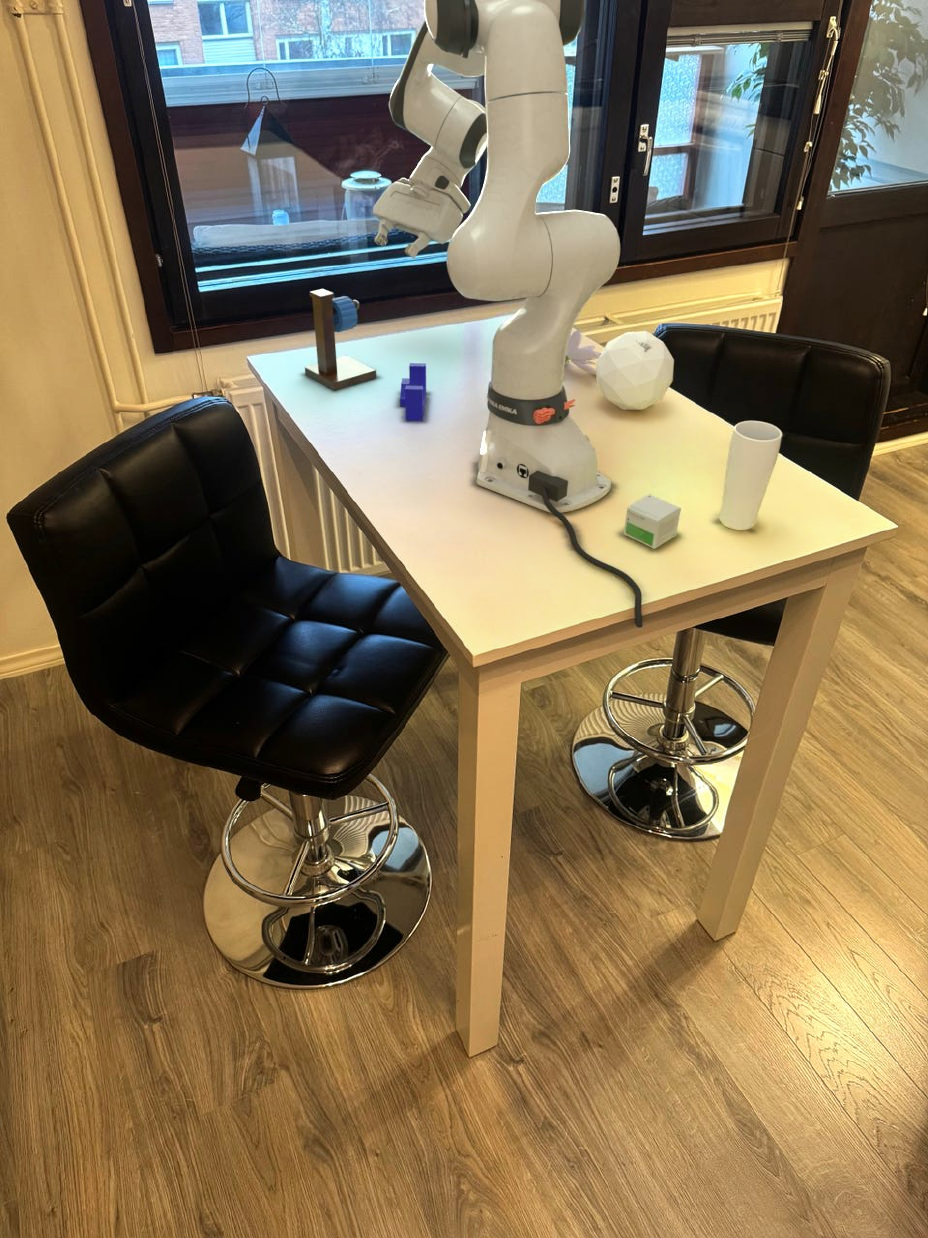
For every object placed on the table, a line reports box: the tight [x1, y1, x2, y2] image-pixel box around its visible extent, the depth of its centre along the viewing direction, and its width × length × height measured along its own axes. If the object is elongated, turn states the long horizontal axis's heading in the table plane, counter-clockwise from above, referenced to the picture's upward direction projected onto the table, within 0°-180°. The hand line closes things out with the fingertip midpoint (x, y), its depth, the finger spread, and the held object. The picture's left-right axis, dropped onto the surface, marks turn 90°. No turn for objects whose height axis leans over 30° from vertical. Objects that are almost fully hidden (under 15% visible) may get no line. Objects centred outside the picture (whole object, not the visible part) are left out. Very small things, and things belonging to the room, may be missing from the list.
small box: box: [623, 493, 682, 550], centre depth 130 cm, size 6×6×5 cm
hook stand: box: [304, 288, 377, 391], centre depth 172 cm, size 10×10×17 cm
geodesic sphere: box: [595, 330, 675, 411], centre depth 164 cm, size 15×14×14 cm
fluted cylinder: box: [332, 295, 358, 333], centre depth 170 cm, size 3×6×6 cm, turn 41°
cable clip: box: [399, 362, 427, 422], centre depth 164 cm, size 12×4×6 cm, turn 179°
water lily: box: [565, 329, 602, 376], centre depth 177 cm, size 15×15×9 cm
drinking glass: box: [718, 420, 783, 531], centre depth 131 cm, size 7×7×15 cm
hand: (393, 249), depth 171 cm, fingers open, 8 cm apart
